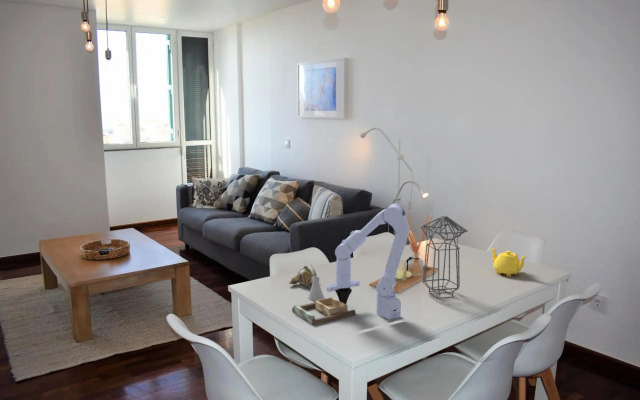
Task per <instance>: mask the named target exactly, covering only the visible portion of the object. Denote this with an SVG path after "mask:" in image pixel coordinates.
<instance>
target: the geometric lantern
mask: <svg viewBox="0 0 640 400" xmlns="http://www.w3.org/2000/svg"><path fill="white" fill-rule="evenodd" d="M431 223H433V224H432V225H429V224H431ZM447 226H448V229H449V230H450V232H448V229H447ZM420 228H421V230H422V232H423V234H424V235H425V236H426V240H429V239H428V238H430V240H429V241H428V243H426V246H425V252H424V253H425V255H424V265H423V277H422V283H423V285H425V286H426V287H427V288H428V293H429V294H430V295H432V296H433V297H434V298H436V299H446V298H448V299H449V298H454V293H455V292H456V291H458V290H459V289H460V282H461V281H460V246H459V237H461V236H462V235H463V234H465V233H468V232H469V230H468V229H466V228H465V227H463V226H461V225H460V224H459V223H457V222H456V221H455V220H453V219H452V218H450V217H448V216H447V215H441V216H440V217H438V218H435V219H434V220H431V221H430V222H426V223H425V224H422V225H421V226H420ZM425 230H426V231H425ZM438 230H439V231H438ZM444 230H445V231H444ZM455 230H456V231H455ZM442 231H443V232H442ZM431 233H432V234H431ZM435 234H437V235H439V236H440V237H441V239H442V240H443V242H435V243H434V240H433V237H434V235H435ZM442 234H444V235H445V236H446V237H445V236H444V235H442ZM450 234H452V235H453V236H452V238H449V237H448V236H449V235H450ZM455 239H456V240H457V241H456V240H455ZM448 241H450V242H448ZM452 242H454V244H452ZM439 244H440V246H439V247H438V248H437V247H436V246H435V245H439ZM443 244H445V245H444V247H445V248H444V249H443V248H442V249H441V251H444V259H443V269H442V270H443V273H442V278H440V248H441V247H443ZM431 245H432V246H431ZM447 245H448V248H447ZM451 246H453V247H455V248H451ZM430 248H431V249H433V250H434V251H433V263H432V265H433V266H432V267H433V268H432V278H431V279H427V273H428V264H429V263H428V262H429V255H430ZM436 251H437V252H436ZM447 251H448V279H447V278H445V271H446V269H445V268H446V260H447V259H446V257H447ZM451 251H455V262H456V263H455V268H456V283H455V282H454V281H452V280H451V279H450V278H451ZM436 253H437V278H436V279H435V266H436ZM434 281H435V282H436V281H437V286H434ZM440 281H442V285H440ZM444 281H447V282H446V284H445V283H444ZM428 282H431V286H430V285H429V284H428ZM449 282H450V283H452V284H453V285H455V286H456V287H447V286H448V284H449ZM444 284H445V285H444ZM447 290H449V291H447ZM432 292H433V293H436V295H435V294H433V293H432ZM442 294H443V295H444V294H449V296H443V297H441V295H442Z"/></svg>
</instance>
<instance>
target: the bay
mask: <svg viewBox="0 0 640 400" xmlns="http://www.w3.org/2000/svg"><path fill="white" fill-rule="evenodd" d="M311 309H315V301H314V302H311V303H306V304H301V305H298V304H294V305H293V306H292V309H291V311H292V313H294V314H295V315H296V316H299V317H300V318H302V319H303V320H305V321H307V322H308V323H309V324H311V325H312V326H316V325H320V324H321V325H322V324H325V323H328V322H332V321H337V320H341V319H345V318H349V317H353V316H356V310H355V309H350V310H347V311H346V312H342V313H338V314H334V315H330V316H326V315H325V316H322V317H321V316H320V317H317V318H316V316H315V315H314V314H313V313H311V312H309V311H307V310H311Z"/></svg>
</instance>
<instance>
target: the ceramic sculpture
mask: <svg viewBox="0 0 640 400" xmlns="http://www.w3.org/2000/svg"><path fill="white" fill-rule="evenodd" d="M315 276H317V271H316V269H315V267H314V266H313V264H310V265H308V266H303V267H302V268H301V269H299V271H298V272H297V274H296V276H293V277H291V280H290V281H289V282H288V283H289V284H290V285H298V284H300V285H302V286H306V287H312V283H313V279H312V277H315ZM317 277H318V276H317Z"/></svg>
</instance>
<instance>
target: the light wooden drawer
mask: <svg viewBox="0 0 640 400" xmlns="http://www.w3.org/2000/svg"><path fill="white" fill-rule="evenodd" d="M314 302H315V308H314V310H316V311H318V312H320V313H321V314H323V315H324V316H325V317H326V316H330V315H334V314H338V313H342V312H346V311H348V304H347V303H346V304H344V303H342V302H340V301H339V299H336V298H334V296H331V297H326V298H325V297H324V299H320V300H316V301H314Z"/></svg>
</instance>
